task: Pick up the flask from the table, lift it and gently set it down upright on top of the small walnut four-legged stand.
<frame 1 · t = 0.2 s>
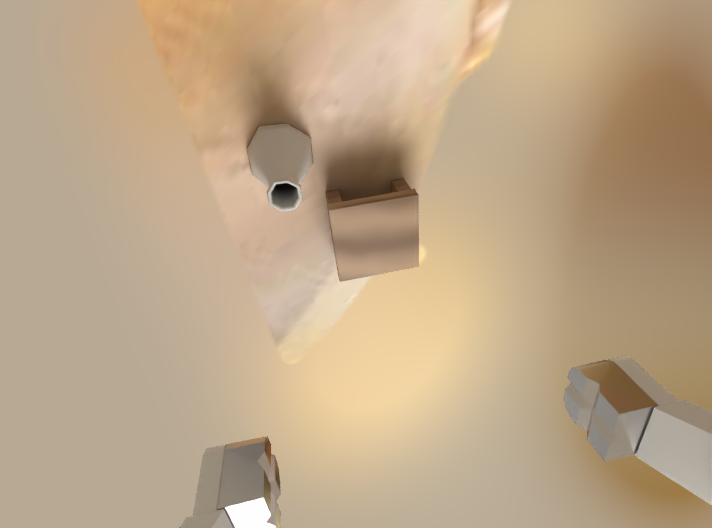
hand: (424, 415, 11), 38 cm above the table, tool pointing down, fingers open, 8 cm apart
walnut stand: (368, 219, 52), on the table
flask: (280, 154, 45), on the table
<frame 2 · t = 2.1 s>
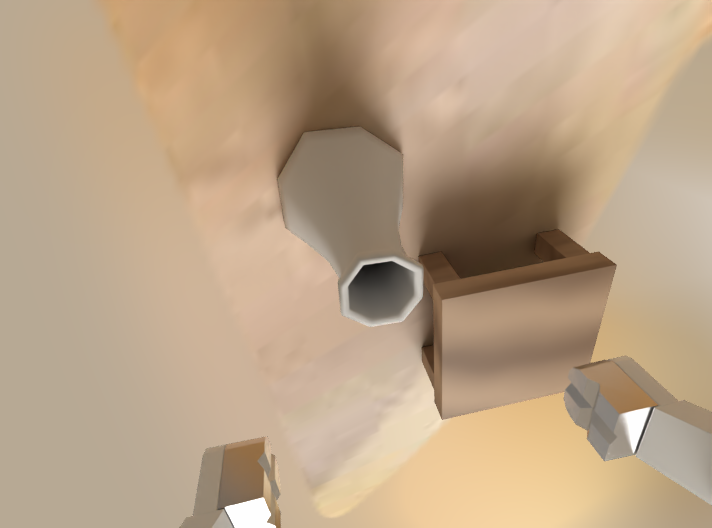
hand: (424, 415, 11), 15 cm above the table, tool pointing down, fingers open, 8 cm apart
walnut stand: (485, 300, 29), on the table
flask: (341, 188, 23), on the table
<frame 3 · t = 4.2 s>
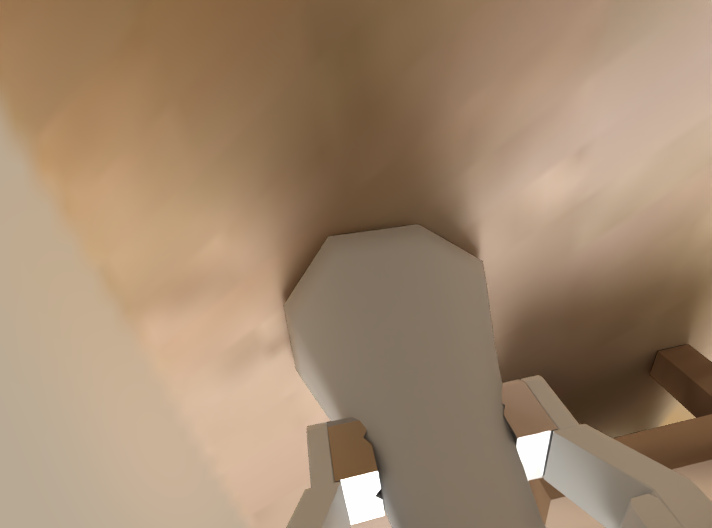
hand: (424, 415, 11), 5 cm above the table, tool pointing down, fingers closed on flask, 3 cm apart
walnut stand: (574, 434, 21), on the table
flask: (382, 308, 15), on the table, touching gripper
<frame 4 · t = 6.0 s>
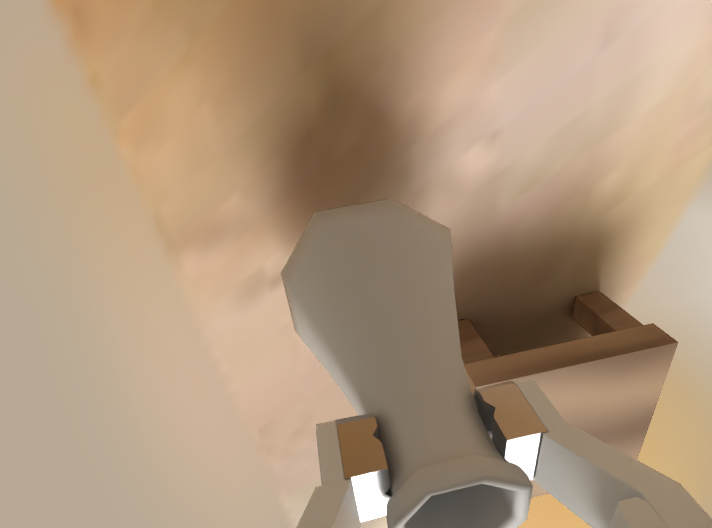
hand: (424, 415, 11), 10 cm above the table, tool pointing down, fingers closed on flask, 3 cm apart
walnut stand: (516, 368, 26), on the table
flask: (367, 275, 17), point 3 cm above the table, touching gripper
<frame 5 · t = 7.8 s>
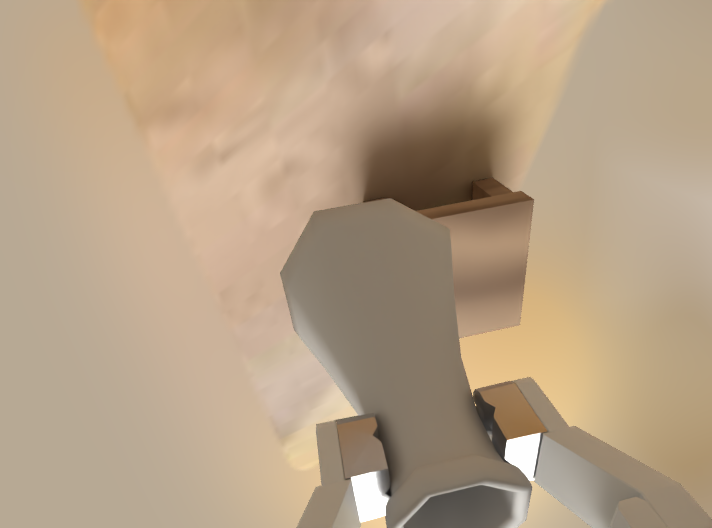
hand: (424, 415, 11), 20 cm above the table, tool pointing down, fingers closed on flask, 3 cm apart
walnut stand: (430, 247, 32), on the table
flask: (366, 274, 17), point 12 cm above the table, touching gripper
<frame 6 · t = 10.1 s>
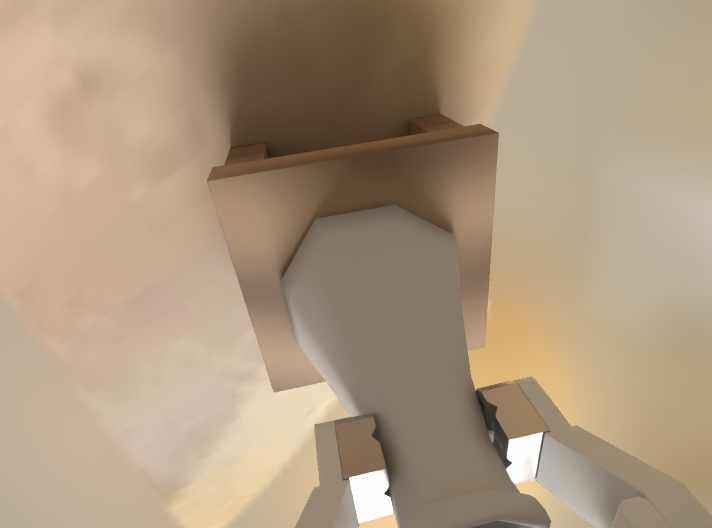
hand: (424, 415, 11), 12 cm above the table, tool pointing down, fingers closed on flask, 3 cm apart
walnut stand: (351, 227, 21), on the table
flask: (369, 283, 17), point 5 cm above the table, touching gripper, walnut stand
when the fingers open (11 cm above the table, at t = 10.5 s): flask stays where it is, resting on walnut stand.
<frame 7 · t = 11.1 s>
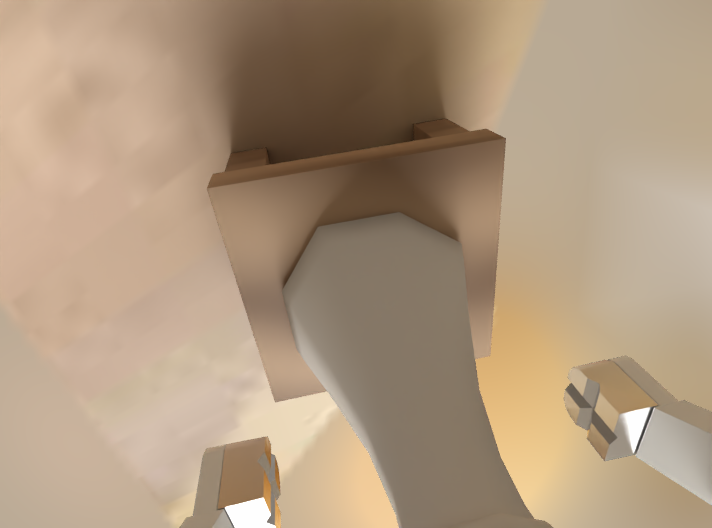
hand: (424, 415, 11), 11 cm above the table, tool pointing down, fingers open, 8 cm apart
walnut stand: (353, 232, 20), on the table
flask: (373, 291, 16), point 5 cm above the table, touching walnut stand
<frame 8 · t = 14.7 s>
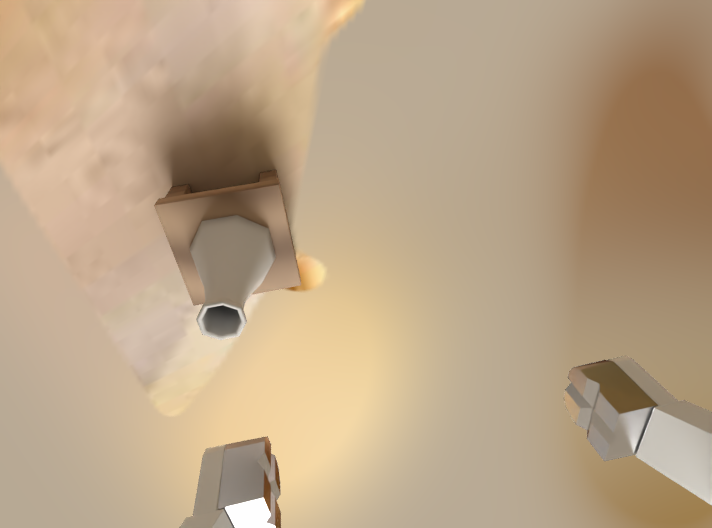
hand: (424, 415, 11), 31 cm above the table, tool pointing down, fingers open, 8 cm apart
walnut stand: (238, 225, 40), on the table
flask: (234, 250, 36), point 5 cm above the table, touching walnut stand
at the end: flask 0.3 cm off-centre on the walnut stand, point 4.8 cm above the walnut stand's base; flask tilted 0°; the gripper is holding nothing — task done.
